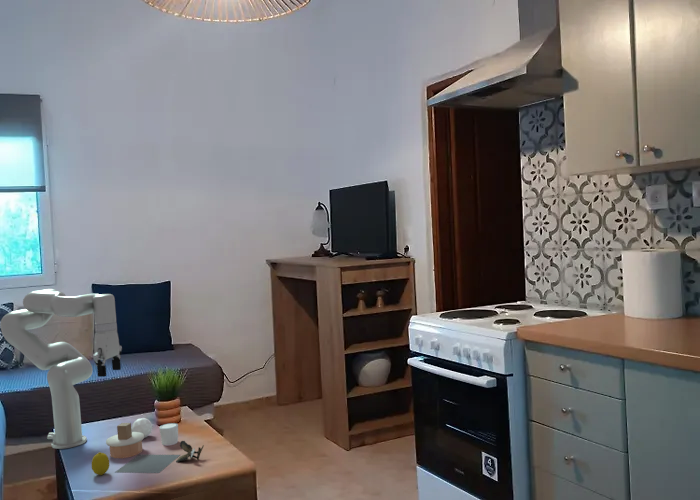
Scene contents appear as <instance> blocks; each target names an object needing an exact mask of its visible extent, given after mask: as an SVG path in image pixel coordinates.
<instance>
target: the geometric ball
mask: <svg viewBox="0 0 700 500" xmlns="http://www.w3.org/2000/svg"><path fill="white" fill-rule="evenodd" d="M131 430H132V432H140V433H143V434H144V439H146V438H148V437H149V435H150V434H152V430H153V424H152V422H151V420H150V419H148V418H145V417H142V418H141V417H140V418H137V419H135V420H134V422H133V423H131Z"/></svg>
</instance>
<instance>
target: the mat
mask: <svg viewBox="0 0 700 500" xmlns="http://www.w3.org/2000/svg"><path fill="white" fill-rule="evenodd" d="M180 456H181V454H137V455H135V457H134V458H132V459H131V460H130V461H128V462H126V464H124V465H123V466H121V467H119V469H117V470H116V471H114V473H122V474H123V473H130V474H132V473H133V474H160V473H161V472H162V471H163V470H164V469H166V468H167V467H168V466H169V465H171V463H173V462H175V460H177V459H178V458H179V457H180Z"/></svg>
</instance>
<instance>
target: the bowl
mask: <svg viewBox="0 0 700 500" xmlns="http://www.w3.org/2000/svg"><path fill="white" fill-rule="evenodd" d="M142 452H143V440H141V441H139V442H137V443H135V444H131V445H127V446H118V447H113V446H109V455H110V456H109V457H111V458H113V459H126V458H132V457H134V456H135V457H136V456H138V455H140V453H142Z"/></svg>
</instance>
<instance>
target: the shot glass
mask: <svg viewBox="0 0 700 500" xmlns="http://www.w3.org/2000/svg"><path fill="white" fill-rule="evenodd" d="M158 428H159V435H160V441H161V445H162V446H173V445H176V444H177V443H178V442H179V424H178V423H175V422H173V423H172V422H170V423H165V424H162V425H160V426H159V427H158Z"/></svg>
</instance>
